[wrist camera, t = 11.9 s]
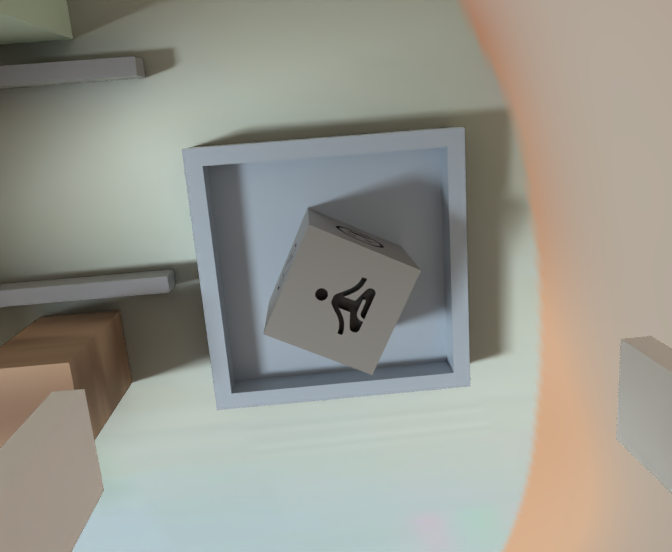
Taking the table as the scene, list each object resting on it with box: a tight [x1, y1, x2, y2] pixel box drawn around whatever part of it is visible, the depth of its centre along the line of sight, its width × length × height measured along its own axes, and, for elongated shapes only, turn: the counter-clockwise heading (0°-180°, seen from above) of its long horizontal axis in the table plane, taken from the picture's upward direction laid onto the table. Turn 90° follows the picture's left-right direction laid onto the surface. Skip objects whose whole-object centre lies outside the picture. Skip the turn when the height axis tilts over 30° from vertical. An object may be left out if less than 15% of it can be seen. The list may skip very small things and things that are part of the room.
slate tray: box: [182, 127, 470, 410], centre depth 30 cm, size 13×13×2 cm
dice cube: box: [263, 208, 421, 375], centre depth 28 cm, size 5×5×5 cm
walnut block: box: [0, 310, 132, 448], centre depth 28 cm, size 4×4×7 cm
